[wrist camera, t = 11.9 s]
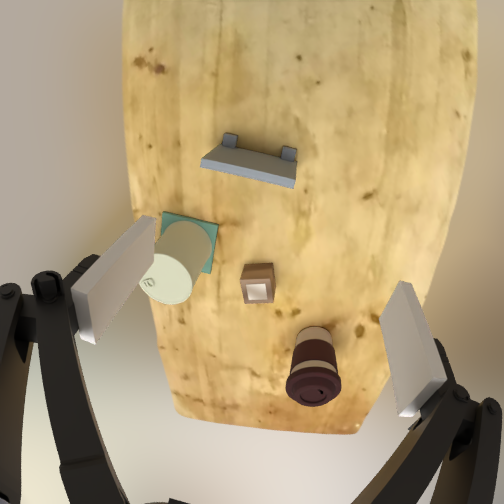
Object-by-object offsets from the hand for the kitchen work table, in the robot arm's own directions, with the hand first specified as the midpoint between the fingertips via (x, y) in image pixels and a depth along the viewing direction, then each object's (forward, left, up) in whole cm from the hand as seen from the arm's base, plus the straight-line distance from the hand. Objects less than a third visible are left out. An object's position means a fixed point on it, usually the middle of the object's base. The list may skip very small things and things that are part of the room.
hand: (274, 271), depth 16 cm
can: (+21, -14, -34) cm, 42 cm away
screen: (+3, -5, -35) cm, 35 cm away
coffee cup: (+36, +14, -35) cm, 52 cm away
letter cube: (+24, 0, -35) cm, 42 cm away
